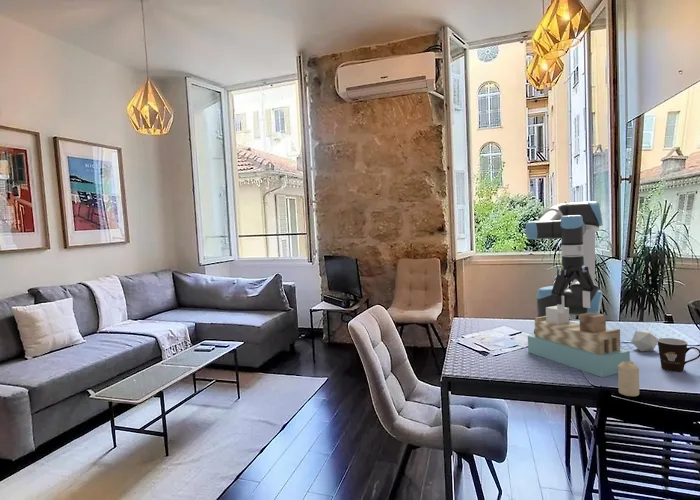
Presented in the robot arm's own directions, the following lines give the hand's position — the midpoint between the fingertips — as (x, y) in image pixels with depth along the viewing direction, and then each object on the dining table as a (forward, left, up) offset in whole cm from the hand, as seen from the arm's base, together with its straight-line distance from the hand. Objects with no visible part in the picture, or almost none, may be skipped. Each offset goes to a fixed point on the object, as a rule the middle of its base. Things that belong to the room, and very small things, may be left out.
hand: (573, 310), depth 168 cm
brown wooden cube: (+8, 0, -6) cm, 10 cm away
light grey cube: (-8, 0, -6) cm, 10 cm away
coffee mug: (+25, +20, -20) cm, 38 cm away
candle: (+30, -12, -20) cm, 38 cm away
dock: (0, 0, -20) cm, 20 cm away
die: (+5, +33, -20) cm, 39 cm away
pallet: (0, 0, -13) cm, 13 cm away
